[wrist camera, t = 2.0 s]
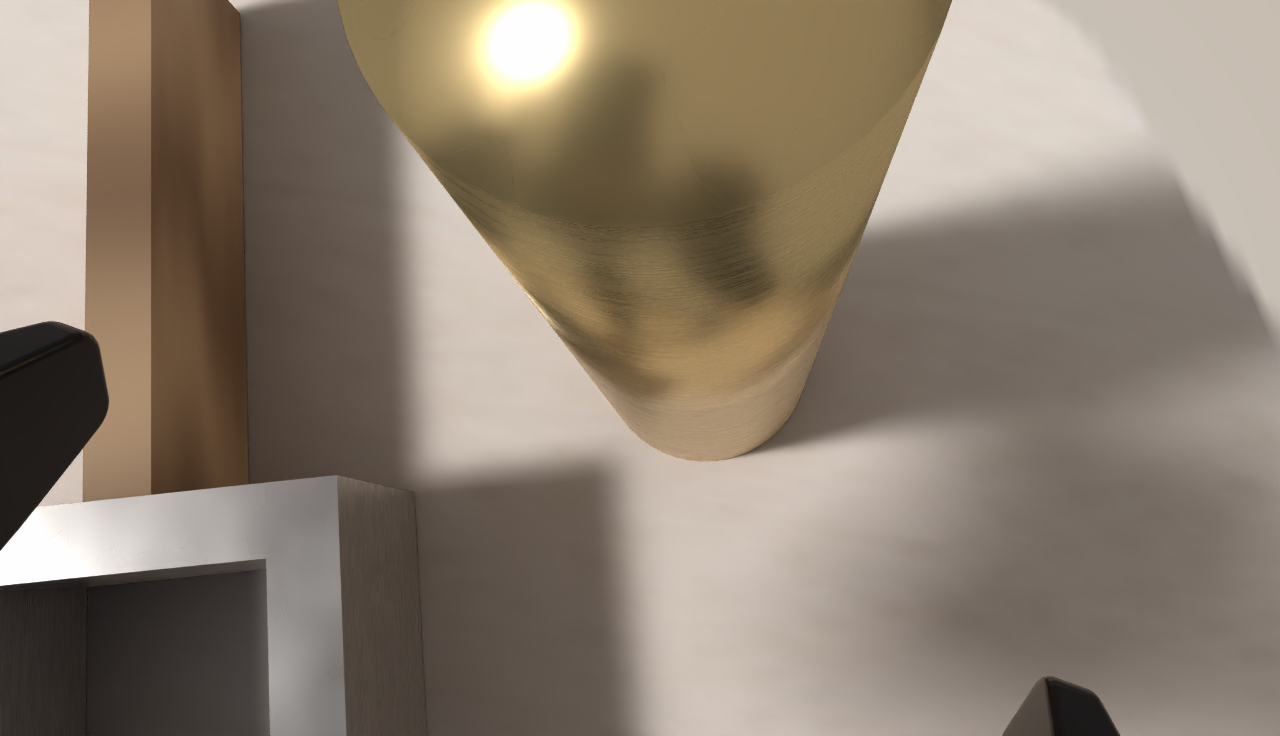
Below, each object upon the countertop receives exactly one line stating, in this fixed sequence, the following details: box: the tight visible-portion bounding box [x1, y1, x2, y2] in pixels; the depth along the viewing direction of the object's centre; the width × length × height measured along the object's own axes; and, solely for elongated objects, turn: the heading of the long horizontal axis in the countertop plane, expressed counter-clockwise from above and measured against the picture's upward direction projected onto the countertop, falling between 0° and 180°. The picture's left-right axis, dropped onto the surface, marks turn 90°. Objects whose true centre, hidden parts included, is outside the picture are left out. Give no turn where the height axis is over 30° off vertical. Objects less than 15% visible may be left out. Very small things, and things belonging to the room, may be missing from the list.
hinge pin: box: [337, 0, 952, 461], centre depth 13 cm, size 4×4×14 cm
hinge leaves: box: [83, 0, 249, 502], centre depth 18 cm, size 30×1×4 cm, turn 5°
